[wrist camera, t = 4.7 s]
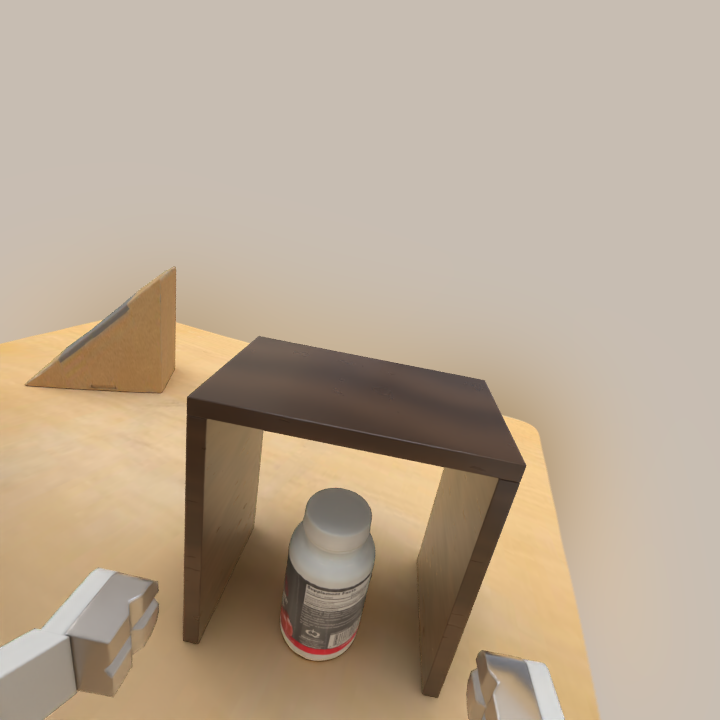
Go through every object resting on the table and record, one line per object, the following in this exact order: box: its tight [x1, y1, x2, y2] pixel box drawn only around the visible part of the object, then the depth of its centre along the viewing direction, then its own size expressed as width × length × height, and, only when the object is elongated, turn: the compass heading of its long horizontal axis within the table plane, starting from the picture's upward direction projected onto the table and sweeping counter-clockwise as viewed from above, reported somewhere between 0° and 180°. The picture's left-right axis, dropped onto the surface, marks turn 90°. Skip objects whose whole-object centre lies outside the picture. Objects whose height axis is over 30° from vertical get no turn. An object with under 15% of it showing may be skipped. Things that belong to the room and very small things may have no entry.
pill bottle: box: [280, 488, 375, 661], centre depth 26 cm, size 5×5×10 cm
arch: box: [183, 336, 526, 698], centre depth 26 cm, size 10×16×17 cm, turn 84°
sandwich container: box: [25, 267, 176, 393], centre depth 51 cm, size 9×15×15 cm, turn 102°
